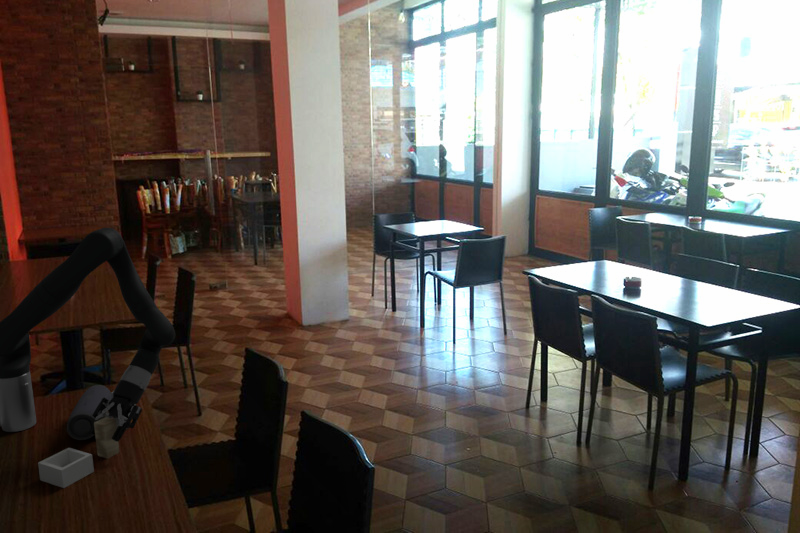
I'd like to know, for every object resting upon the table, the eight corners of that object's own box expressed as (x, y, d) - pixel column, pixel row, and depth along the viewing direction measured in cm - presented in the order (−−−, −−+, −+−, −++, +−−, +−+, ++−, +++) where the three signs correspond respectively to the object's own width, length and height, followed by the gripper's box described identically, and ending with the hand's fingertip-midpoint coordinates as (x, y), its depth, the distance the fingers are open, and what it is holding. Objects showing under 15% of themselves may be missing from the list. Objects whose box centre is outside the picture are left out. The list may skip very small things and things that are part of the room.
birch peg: (97, 455, 178) (93, 422, 176) (109, 449, 181) (105, 416, 179) (107, 458, 176) (104, 425, 174) (119, 452, 180) (116, 419, 177)
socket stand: (40, 480, 165) (38, 462, 164) (70, 464, 173) (68, 447, 172) (63, 488, 161) (61, 470, 160) (93, 471, 169) (92, 454, 168)
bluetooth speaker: (101, 442, 186) (97, 410, 184) (66, 446, 183) (62, 414, 181) (115, 410, 207) (112, 381, 205) (84, 413, 205) (81, 384, 203)
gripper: (107, 375, 185) (76, 427, 177) (142, 382, 179) (113, 437, 171) (123, 385, 190) (94, 437, 182) (158, 393, 184) (130, 447, 177)
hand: (103, 437), depth 177 cm, fingers open, 8 cm apart
